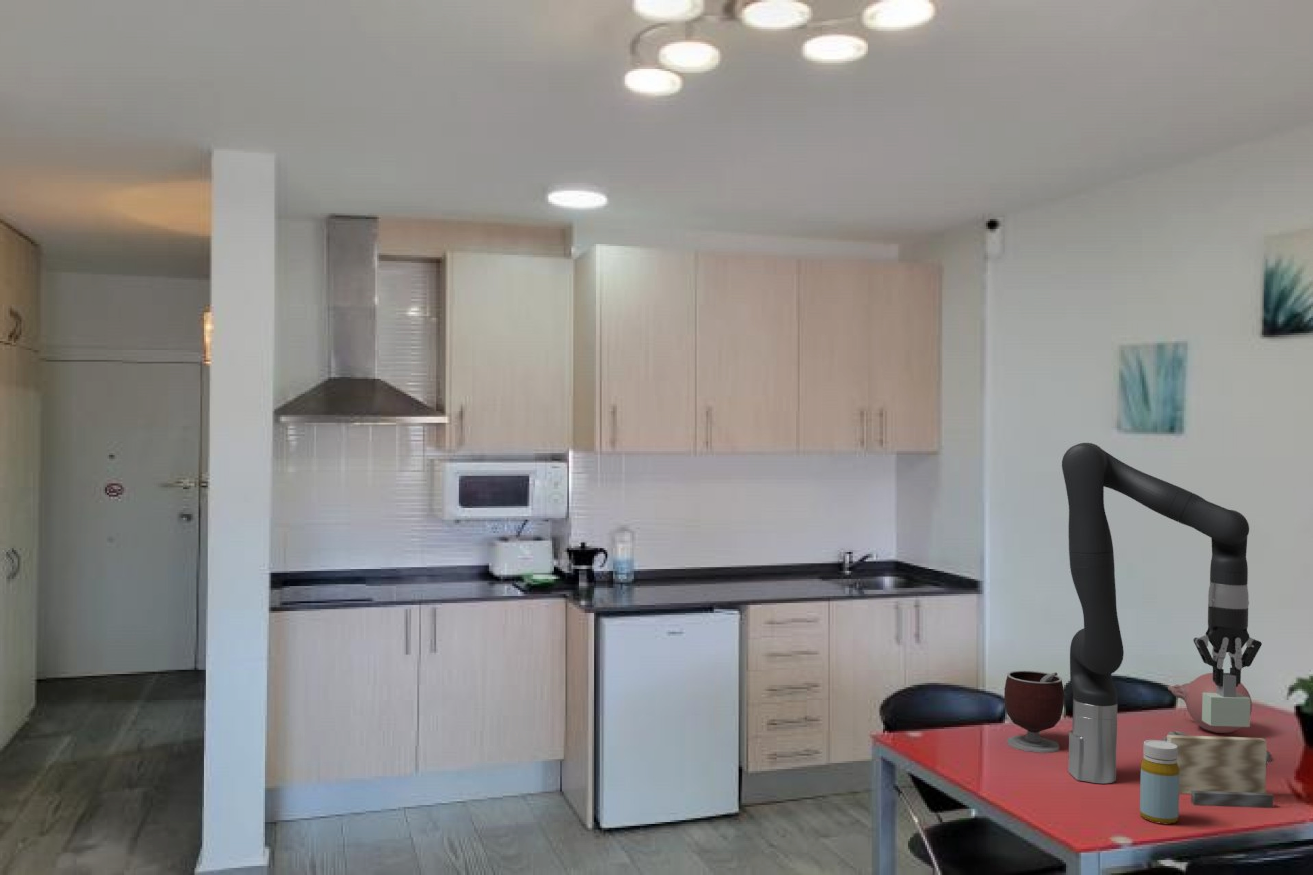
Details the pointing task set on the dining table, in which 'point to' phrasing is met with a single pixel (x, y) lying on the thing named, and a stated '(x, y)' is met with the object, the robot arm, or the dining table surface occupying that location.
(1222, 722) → the cabinet block
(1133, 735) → the dining table surface
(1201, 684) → the balloon
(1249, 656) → the robot arm
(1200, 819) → the dining table surface
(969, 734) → the dining table surface
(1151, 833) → the dining table surface
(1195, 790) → the wall board
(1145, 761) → the bottle
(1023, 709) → the mate gourd
